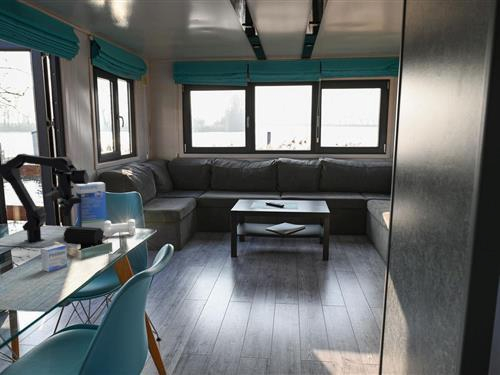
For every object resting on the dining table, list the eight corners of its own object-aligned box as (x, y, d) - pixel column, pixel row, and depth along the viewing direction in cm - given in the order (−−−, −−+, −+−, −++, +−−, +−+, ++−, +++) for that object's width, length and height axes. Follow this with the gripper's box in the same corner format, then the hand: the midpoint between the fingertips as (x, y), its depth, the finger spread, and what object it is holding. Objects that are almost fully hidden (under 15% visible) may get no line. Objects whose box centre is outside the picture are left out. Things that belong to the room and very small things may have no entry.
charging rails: (53, 248, 173) (52, 239, 173) (82, 241, 185) (82, 233, 184) (82, 259, 159) (82, 250, 159) (112, 251, 171) (112, 242, 170)
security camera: (101, 254, 167) (100, 231, 165) (63, 251, 170) (61, 229, 168) (110, 249, 173) (109, 227, 172) (73, 246, 177) (71, 225, 175)
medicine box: (48, 272, 145) (46, 250, 144) (41, 270, 147) (40, 248, 146) (67, 266, 151) (66, 245, 150) (61, 264, 154) (59, 243, 152)
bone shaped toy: (135, 233, 202) (134, 218, 202) (135, 236, 194) (135, 220, 194) (104, 235, 198) (104, 219, 197) (103, 238, 189) (103, 222, 189)
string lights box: (104, 229, 207) (102, 181, 204) (107, 232, 201) (105, 183, 197) (77, 232, 200) (75, 183, 196) (80, 235, 194) (78, 185, 190)
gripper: (37, 183, 180) (39, 216, 182) (57, 188, 169) (59, 222, 171) (61, 181, 189) (62, 212, 191) (81, 185, 178) (83, 218, 180)
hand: (66, 216), depth 183 cm, fingers closed
